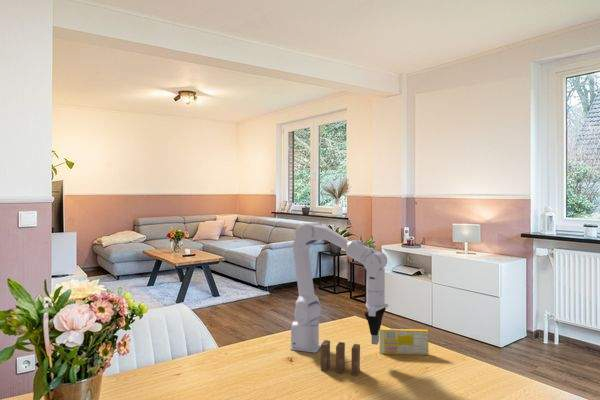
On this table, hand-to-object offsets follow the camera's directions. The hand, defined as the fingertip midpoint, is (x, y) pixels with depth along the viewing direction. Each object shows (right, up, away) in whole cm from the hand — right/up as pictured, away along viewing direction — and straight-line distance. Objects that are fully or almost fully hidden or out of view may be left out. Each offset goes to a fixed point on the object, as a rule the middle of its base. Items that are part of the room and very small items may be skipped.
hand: (375, 332), depth 131 cm
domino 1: (-16, -10, -3) cm, 19 cm away
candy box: (+11, -10, +9) cm, 18 cm away
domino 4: (0, -3, 0) cm, 3 cm away
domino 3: (-7, -10, -6) cm, 14 cm away
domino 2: (-12, -10, -5) cm, 16 cm away
